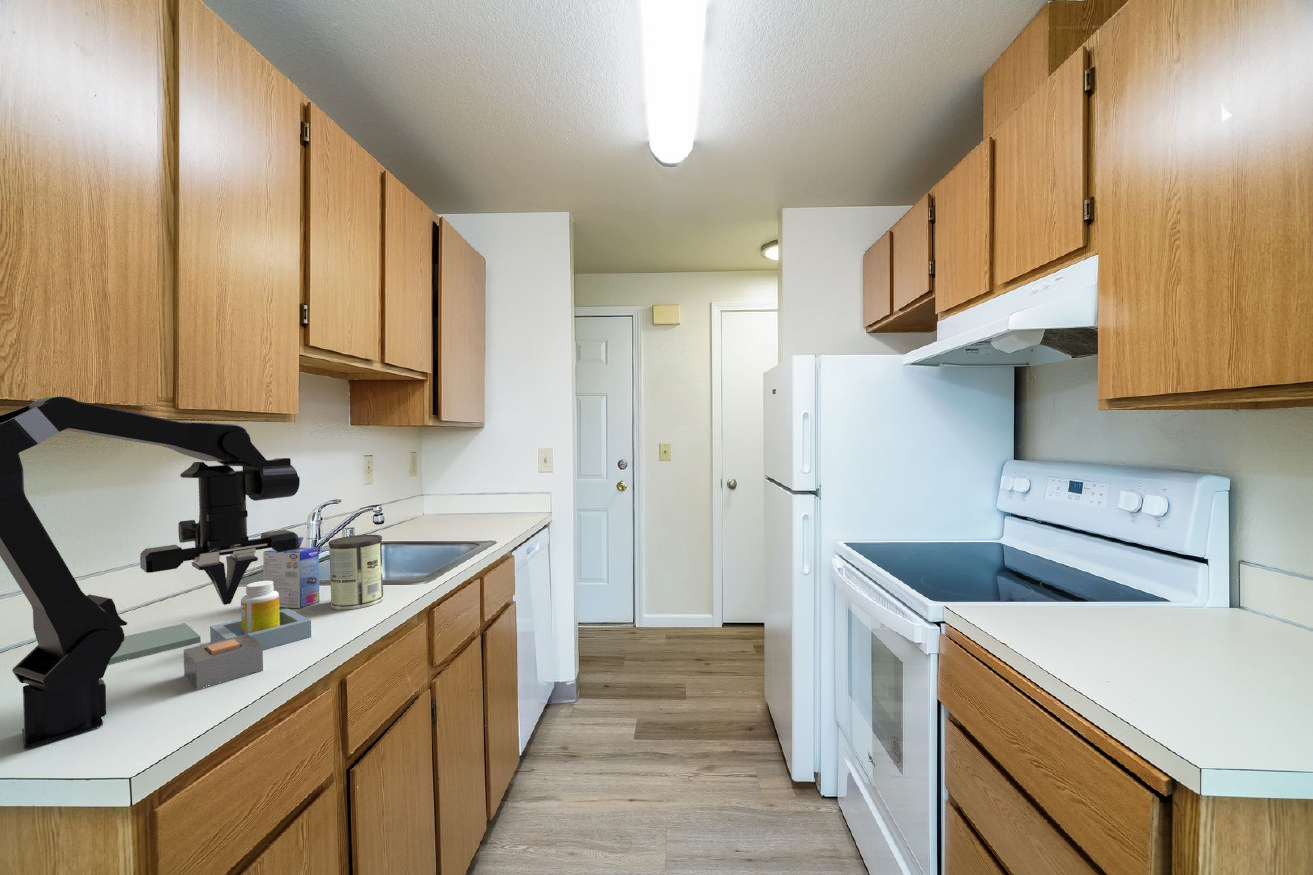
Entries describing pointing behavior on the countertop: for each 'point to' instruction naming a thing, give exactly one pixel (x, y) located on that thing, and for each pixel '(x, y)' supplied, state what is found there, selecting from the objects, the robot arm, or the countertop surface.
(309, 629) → the tray
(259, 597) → the supplement bottle
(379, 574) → the coffee can
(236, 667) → the block
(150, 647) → the mat
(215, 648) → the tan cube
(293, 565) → the ink cartridge box
